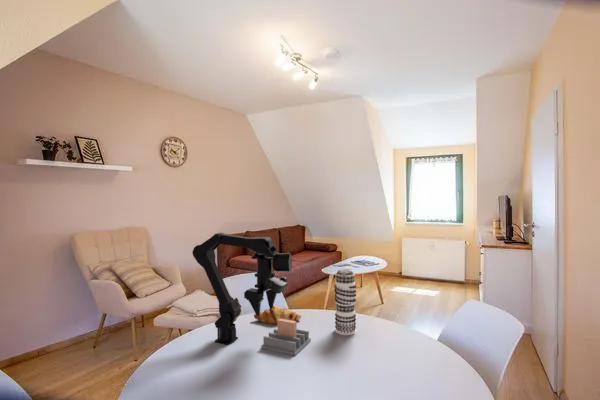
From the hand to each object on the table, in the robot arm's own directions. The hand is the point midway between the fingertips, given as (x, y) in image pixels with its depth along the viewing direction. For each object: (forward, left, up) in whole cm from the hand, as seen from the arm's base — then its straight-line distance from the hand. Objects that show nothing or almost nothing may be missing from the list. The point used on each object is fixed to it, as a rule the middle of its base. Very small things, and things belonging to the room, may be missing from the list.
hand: (264, 311), depth 124 cm
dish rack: (+8, +3, -12) cm, 15 cm away
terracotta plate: (+8, +2, -11) cm, 14 cm away
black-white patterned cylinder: (+24, +24, -12) cm, 36 cm away
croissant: (-7, +22, -12) cm, 26 cm away
